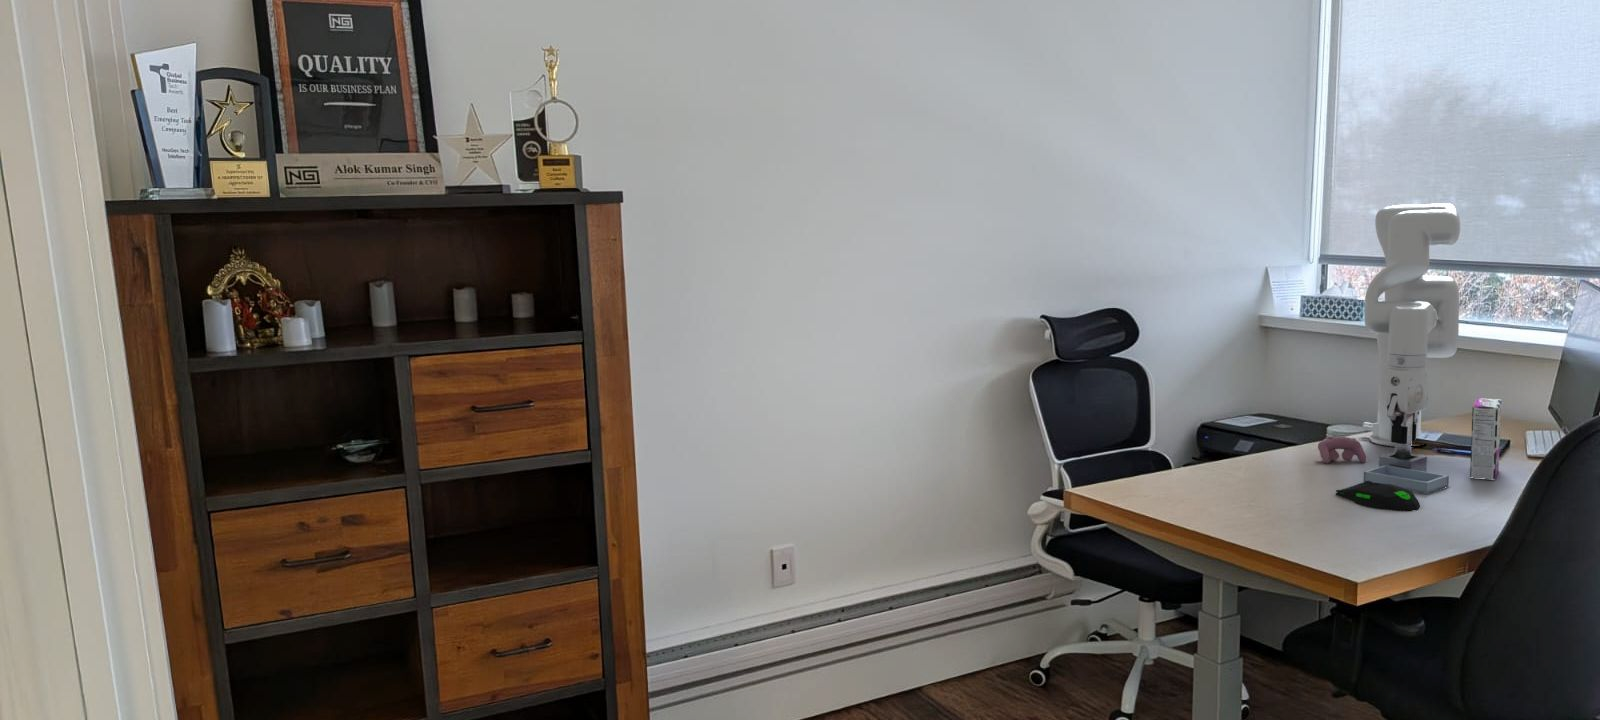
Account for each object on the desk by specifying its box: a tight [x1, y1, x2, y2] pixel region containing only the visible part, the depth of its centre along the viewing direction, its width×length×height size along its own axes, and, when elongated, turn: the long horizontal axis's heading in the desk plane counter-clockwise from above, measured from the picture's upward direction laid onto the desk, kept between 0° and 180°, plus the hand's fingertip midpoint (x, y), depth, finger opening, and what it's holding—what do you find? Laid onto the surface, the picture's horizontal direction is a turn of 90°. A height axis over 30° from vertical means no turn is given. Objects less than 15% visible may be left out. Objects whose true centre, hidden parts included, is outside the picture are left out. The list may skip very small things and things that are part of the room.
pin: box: [1394, 409, 1417, 460], centre depth 232 cm, size 5×5×13 cm
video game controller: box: [1317, 436, 1367, 464], centre depth 246 cm, size 10×5×7 cm, turn 85°
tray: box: [1362, 465, 1450, 495], centre depth 223 cm, size 13×9×2 cm
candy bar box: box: [1469, 397, 1502, 480], centre depth 229 cm, size 11×5×16 cm, turn 143°
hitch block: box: [1378, 451, 1428, 472], centre depth 232 cm, size 7×7×4 cm
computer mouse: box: [1335, 481, 1421, 512], centre depth 212 cm, size 11×16×4 cm
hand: (1403, 440), depth 232 cm, fingers closed on pin, 3 cm apart
